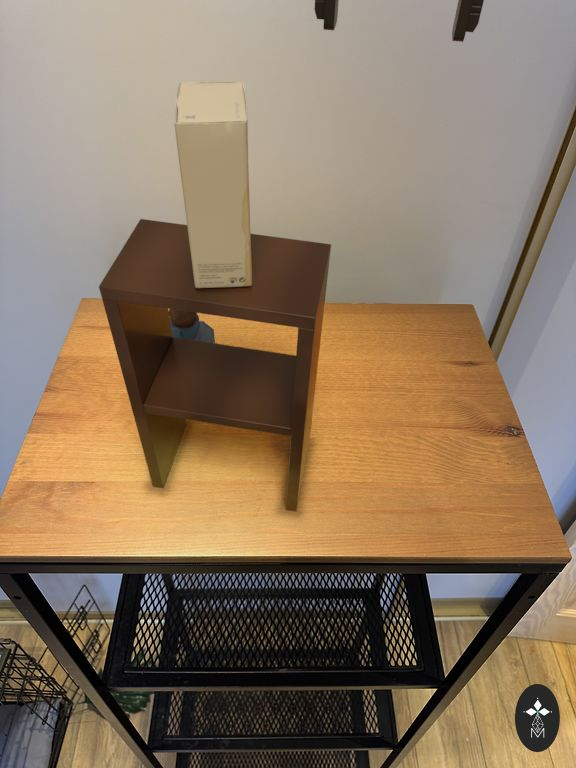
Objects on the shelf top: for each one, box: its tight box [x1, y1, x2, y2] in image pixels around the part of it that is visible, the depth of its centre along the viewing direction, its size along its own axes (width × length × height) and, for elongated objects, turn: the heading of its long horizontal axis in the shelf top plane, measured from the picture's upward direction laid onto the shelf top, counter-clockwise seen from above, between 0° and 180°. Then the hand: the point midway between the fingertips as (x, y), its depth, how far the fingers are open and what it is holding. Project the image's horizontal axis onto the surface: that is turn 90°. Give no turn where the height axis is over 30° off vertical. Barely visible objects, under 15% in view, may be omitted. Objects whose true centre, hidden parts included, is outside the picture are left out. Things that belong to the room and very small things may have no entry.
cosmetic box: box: [174, 81, 252, 288], centre depth 39 cm, size 6×4×12 cm
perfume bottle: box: [168, 308, 216, 343], centre depth 68 cm, size 6×6×12 cm
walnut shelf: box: [98, 218, 332, 513], centre depth 54 cm, size 16×9×28 cm, turn 80°
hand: (393, 32), depth 38 cm, fingers open, 8 cm apart
